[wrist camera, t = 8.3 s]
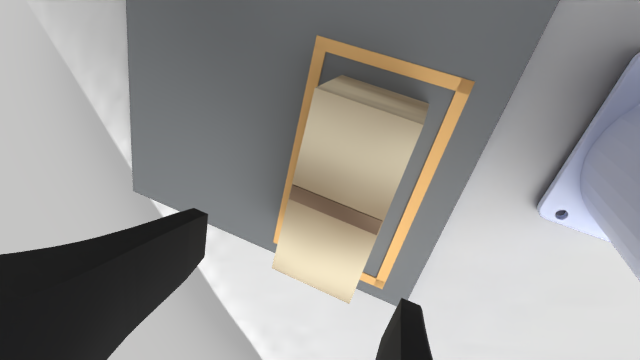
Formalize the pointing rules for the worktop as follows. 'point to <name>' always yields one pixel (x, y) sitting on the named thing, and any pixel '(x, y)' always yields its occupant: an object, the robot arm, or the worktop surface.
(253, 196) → the rubber mat
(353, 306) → the worktop surface
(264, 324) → the worktop surface
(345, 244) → the cream block
